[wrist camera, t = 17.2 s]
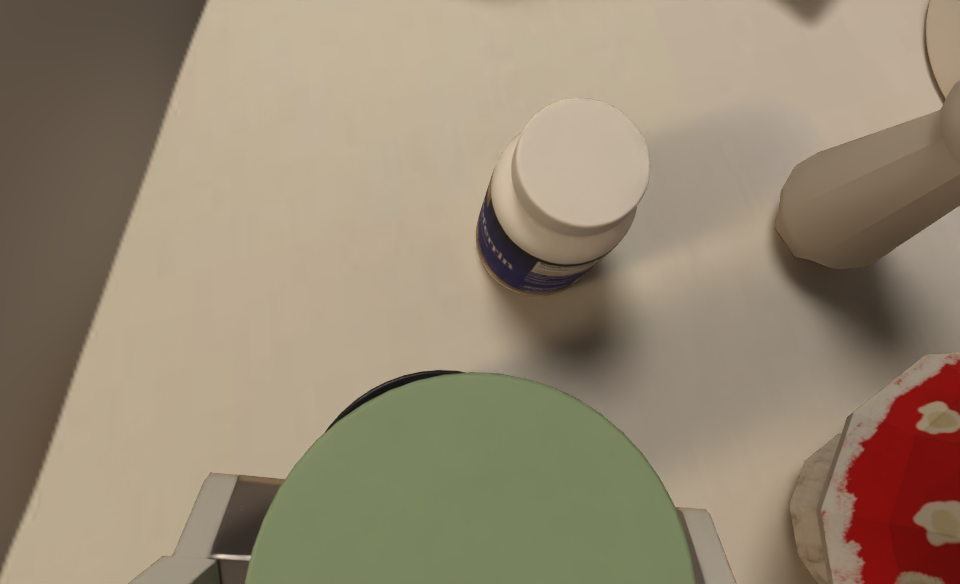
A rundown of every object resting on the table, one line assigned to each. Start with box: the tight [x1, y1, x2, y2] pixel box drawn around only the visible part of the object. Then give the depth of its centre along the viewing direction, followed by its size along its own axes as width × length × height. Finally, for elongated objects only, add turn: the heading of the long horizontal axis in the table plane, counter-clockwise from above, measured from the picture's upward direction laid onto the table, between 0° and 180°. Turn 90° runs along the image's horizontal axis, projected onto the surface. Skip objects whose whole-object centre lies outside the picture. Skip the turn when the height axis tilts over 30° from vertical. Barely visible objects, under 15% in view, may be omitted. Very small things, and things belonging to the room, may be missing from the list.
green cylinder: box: [245, 372, 695, 584], centre depth 12 cm, size 6×6×8 cm
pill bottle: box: [476, 98, 650, 296], centre depth 27 cm, size 6×6×10 cm
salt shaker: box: [774, 80, 960, 269], centre depth 28 cm, size 6×6×13 cm
